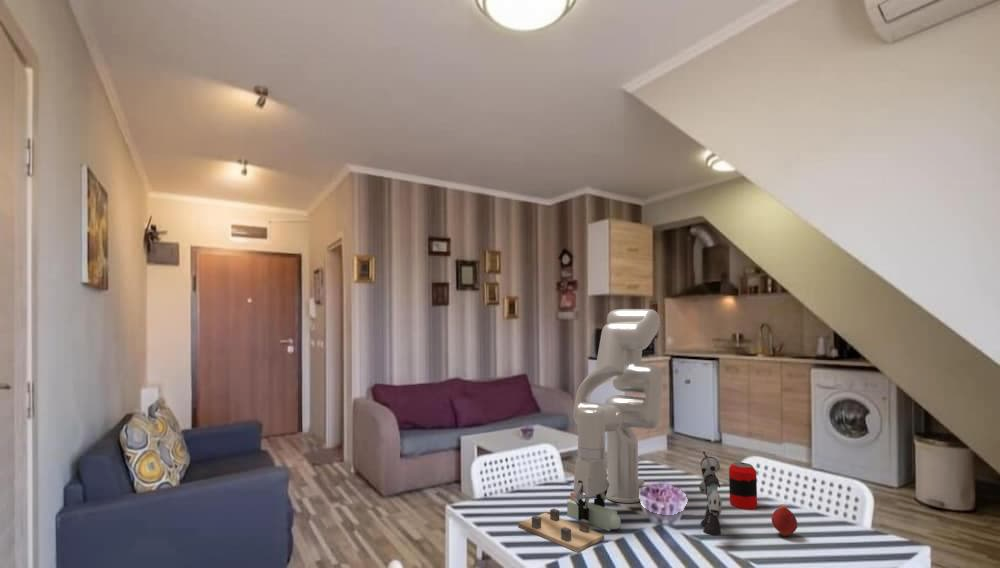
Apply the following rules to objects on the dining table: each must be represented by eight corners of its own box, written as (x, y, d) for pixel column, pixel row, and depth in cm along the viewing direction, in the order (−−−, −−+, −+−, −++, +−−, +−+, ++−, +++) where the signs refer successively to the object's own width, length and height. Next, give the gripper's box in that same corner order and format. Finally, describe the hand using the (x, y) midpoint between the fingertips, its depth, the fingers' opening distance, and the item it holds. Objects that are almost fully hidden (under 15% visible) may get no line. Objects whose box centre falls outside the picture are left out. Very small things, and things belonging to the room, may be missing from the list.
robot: (728, 546, 125) (726, 463, 126) (707, 543, 126) (705, 462, 127) (714, 516, 144) (712, 445, 145) (696, 514, 145) (695, 444, 146)
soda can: (758, 503, 154) (757, 463, 155) (755, 511, 148) (754, 470, 148) (731, 498, 158) (730, 460, 159) (728, 506, 152) (727, 465, 152)
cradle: (545, 516, 143) (545, 503, 143) (604, 538, 128) (604, 524, 128) (518, 526, 135) (518, 513, 135) (577, 552, 121) (577, 537, 121)
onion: (794, 533, 133) (793, 502, 133) (800, 542, 127) (799, 509, 128) (770, 530, 135) (769, 499, 135) (774, 538, 129) (773, 507, 130)
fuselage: (575, 511, 146) (575, 490, 146) (623, 529, 134) (623, 505, 135) (566, 515, 143) (566, 494, 144) (615, 533, 132) (615, 509, 132)
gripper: (598, 445, 149) (598, 506, 148) (561, 455, 138) (561, 522, 136) (620, 450, 144) (620, 514, 143) (583, 461, 132) (583, 531, 131)
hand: (591, 517), depth 140 cm, fingers open, 6 cm apart
